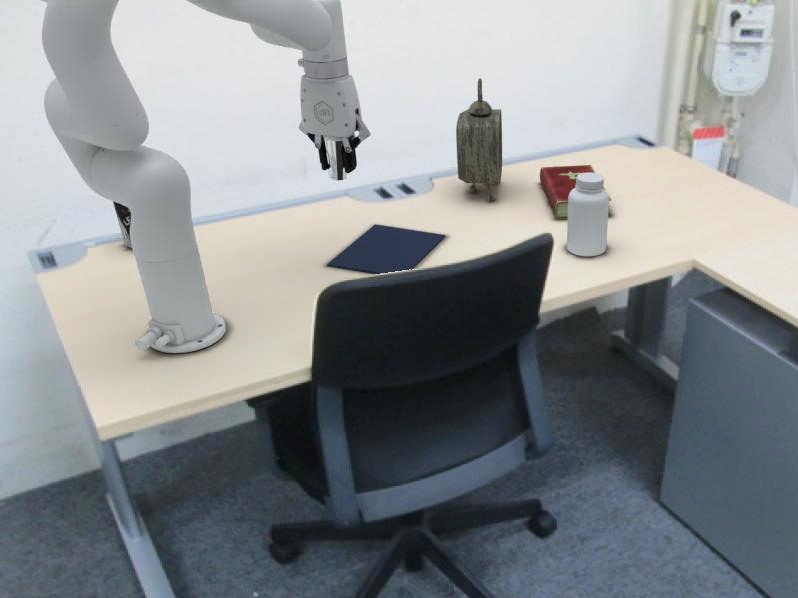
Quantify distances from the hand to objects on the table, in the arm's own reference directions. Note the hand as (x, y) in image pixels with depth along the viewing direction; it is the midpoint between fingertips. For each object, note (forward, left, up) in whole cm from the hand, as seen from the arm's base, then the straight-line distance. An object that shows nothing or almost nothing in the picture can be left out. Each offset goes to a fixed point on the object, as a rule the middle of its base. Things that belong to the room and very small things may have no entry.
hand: (339, 168), depth 168 cm
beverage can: (-10, +42, -18) cm, 46 cm away
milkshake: (0, 0, -2) cm, 2 cm away
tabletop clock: (+39, -12, -18) cm, 45 cm away
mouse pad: (+4, -6, -18) cm, 19 cm away
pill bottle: (+18, -43, -18) cm, 50 cm away
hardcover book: (+42, -33, -18) cm, 57 cm away
